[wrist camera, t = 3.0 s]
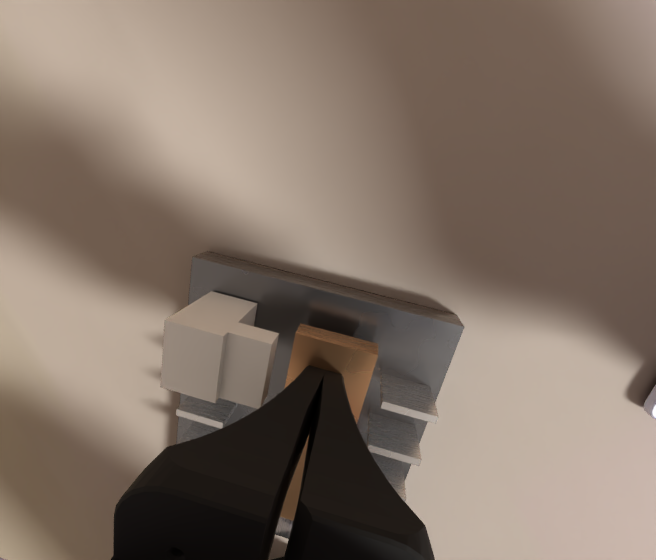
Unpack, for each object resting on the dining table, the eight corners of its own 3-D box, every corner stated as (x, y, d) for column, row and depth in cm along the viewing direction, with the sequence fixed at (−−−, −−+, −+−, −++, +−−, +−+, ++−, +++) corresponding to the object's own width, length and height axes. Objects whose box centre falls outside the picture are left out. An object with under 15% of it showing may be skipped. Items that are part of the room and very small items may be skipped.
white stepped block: (293, 312, 13) (268, 349, 10) (282, 367, 13) (256, 415, 11) (211, 291, 13) (164, 319, 10) (205, 345, 14) (160, 387, 11)
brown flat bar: (386, 341, 12) (386, 362, 11) (328, 525, 16) (323, 557, 14) (295, 317, 12) (285, 335, 11) (259, 503, 16) (248, 533, 15)
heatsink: (456, 314, 13) (479, 350, 10) (375, 531, 17) (375, 600, 14) (207, 251, 14) (163, 267, 11) (185, 471, 18) (149, 525, 15)
